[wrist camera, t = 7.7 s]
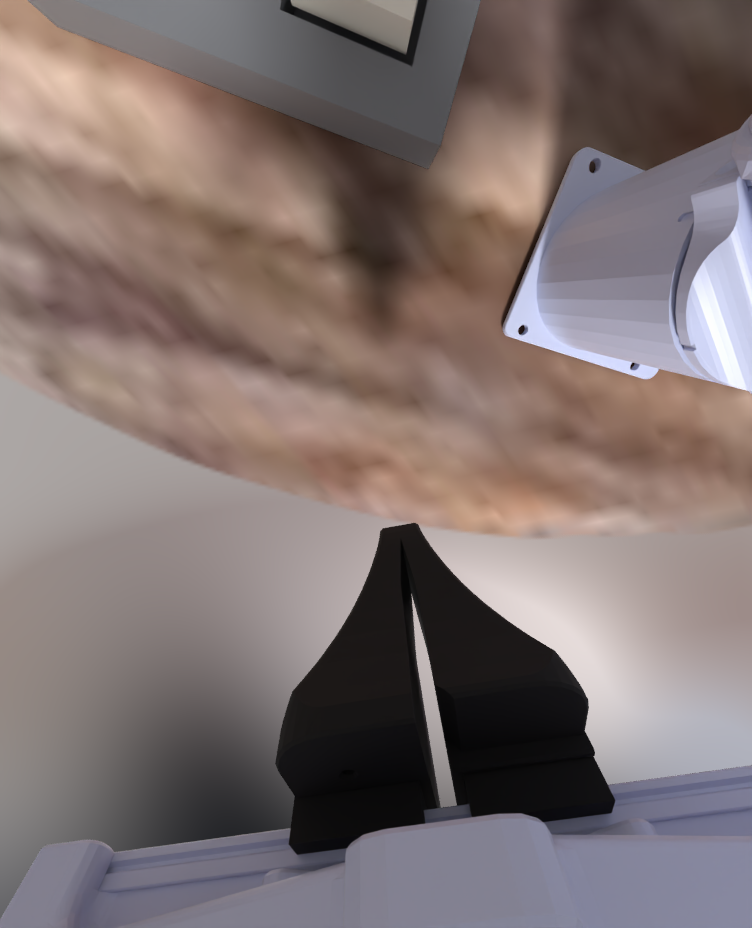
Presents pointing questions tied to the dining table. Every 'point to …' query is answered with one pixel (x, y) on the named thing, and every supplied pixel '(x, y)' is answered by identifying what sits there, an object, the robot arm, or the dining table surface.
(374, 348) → the dining table surface
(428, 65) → the button board
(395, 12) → the button
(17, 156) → the dining table surface
